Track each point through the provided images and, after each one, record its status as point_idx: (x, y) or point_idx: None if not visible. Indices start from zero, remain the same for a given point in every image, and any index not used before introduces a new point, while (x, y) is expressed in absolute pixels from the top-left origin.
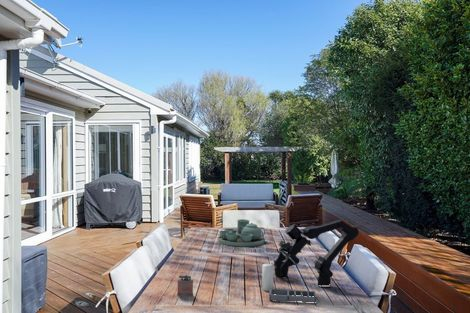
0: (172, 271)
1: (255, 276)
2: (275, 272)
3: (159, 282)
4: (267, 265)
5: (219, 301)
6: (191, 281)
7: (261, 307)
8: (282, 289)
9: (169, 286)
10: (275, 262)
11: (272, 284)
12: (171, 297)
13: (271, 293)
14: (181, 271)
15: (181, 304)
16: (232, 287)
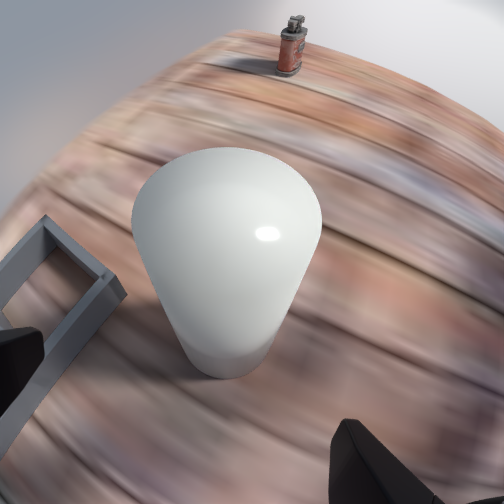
0: (490, 132)
1: (492, 372)
2: (478, 502)
3: (400, 78)
4: (205, 189)
5: (184, 98)
6: (281, 34)
7: (41, 178)
8: (52, 341)
9: (367, 75)
10: (356, 430)
11: (179, 341)
12: (277, 54)
13: (96, 278)
14: (497, 146)
15: (218, 54)
16: (330, 177)
